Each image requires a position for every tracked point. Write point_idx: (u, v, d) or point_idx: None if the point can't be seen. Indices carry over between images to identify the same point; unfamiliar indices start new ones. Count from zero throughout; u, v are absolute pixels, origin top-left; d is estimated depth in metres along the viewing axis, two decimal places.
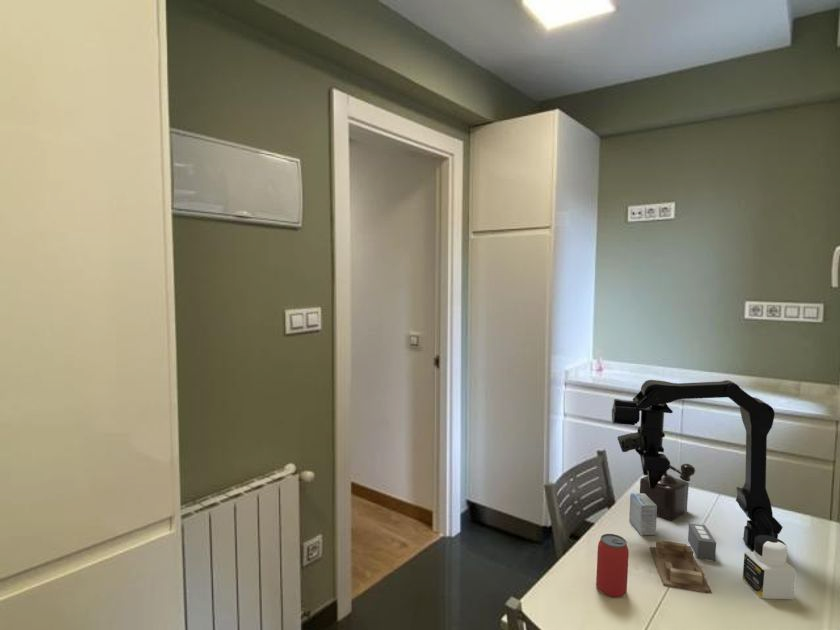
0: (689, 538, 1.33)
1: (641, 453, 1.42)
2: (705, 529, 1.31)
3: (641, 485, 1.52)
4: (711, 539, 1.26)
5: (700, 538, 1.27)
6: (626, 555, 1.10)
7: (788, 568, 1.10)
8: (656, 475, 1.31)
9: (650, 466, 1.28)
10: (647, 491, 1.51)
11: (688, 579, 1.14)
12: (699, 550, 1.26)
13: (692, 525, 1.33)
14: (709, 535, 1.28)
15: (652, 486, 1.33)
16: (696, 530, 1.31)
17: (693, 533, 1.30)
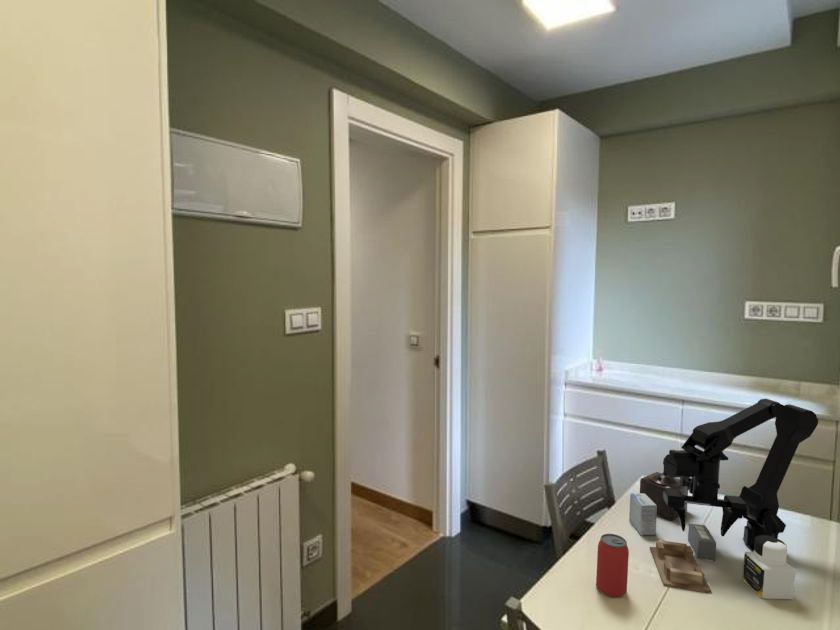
0: (689, 538, 1.34)
1: (723, 511, 1.29)
2: (705, 529, 1.31)
3: (641, 485, 1.52)
4: (711, 539, 1.26)
5: (700, 538, 1.27)
6: (626, 555, 1.10)
7: (788, 568, 1.10)
8: None
9: (663, 497, 1.33)
10: (647, 491, 1.51)
11: (688, 579, 1.14)
12: (699, 550, 1.26)
13: (692, 525, 1.33)
14: (709, 535, 1.28)
15: (682, 528, 1.31)
16: (696, 530, 1.31)
17: (693, 533, 1.30)
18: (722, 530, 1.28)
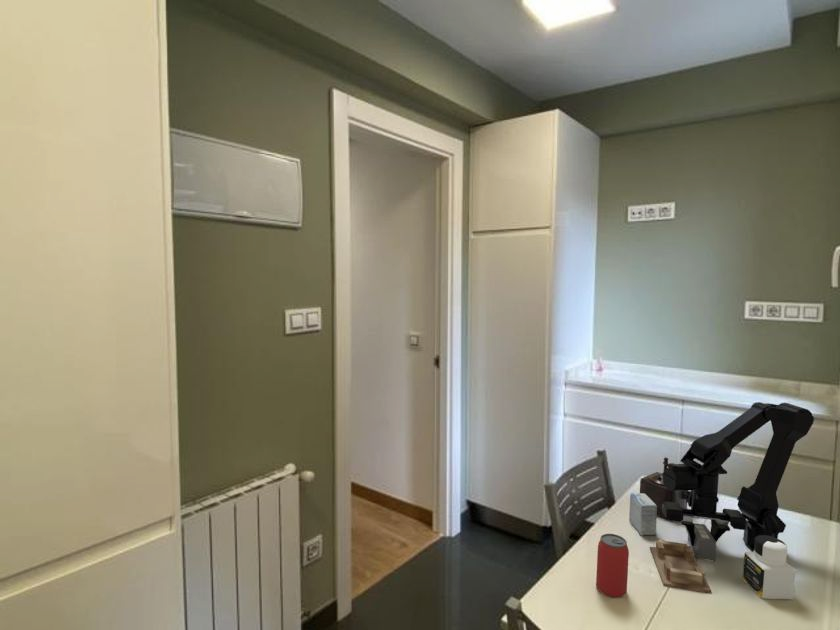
0: None
1: (712, 523, 1.30)
2: (705, 528, 1.31)
3: (641, 485, 1.52)
4: (711, 538, 1.26)
5: (700, 537, 1.27)
6: (626, 555, 1.10)
7: (788, 568, 1.10)
8: None
9: (662, 510, 1.33)
10: (647, 491, 1.51)
11: (688, 579, 1.14)
12: (699, 549, 1.26)
13: None
14: (709, 534, 1.28)
15: (691, 542, 1.30)
16: (696, 529, 1.31)
17: None
18: None
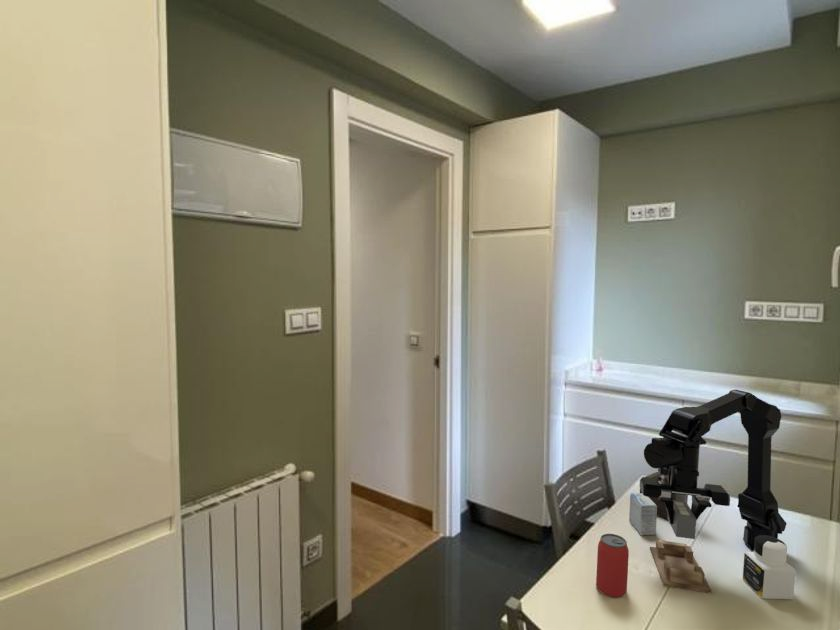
0: None
1: (692, 499, 1.21)
2: (685, 505, 1.22)
3: None
4: (691, 515, 1.17)
5: (679, 514, 1.17)
6: (626, 555, 1.10)
7: (788, 568, 1.10)
8: (667, 507, 1.20)
9: (640, 486, 1.24)
10: None
11: (688, 579, 1.14)
12: (678, 527, 1.17)
13: None
14: (689, 511, 1.19)
15: (670, 520, 1.21)
16: (676, 506, 1.21)
17: None
18: None
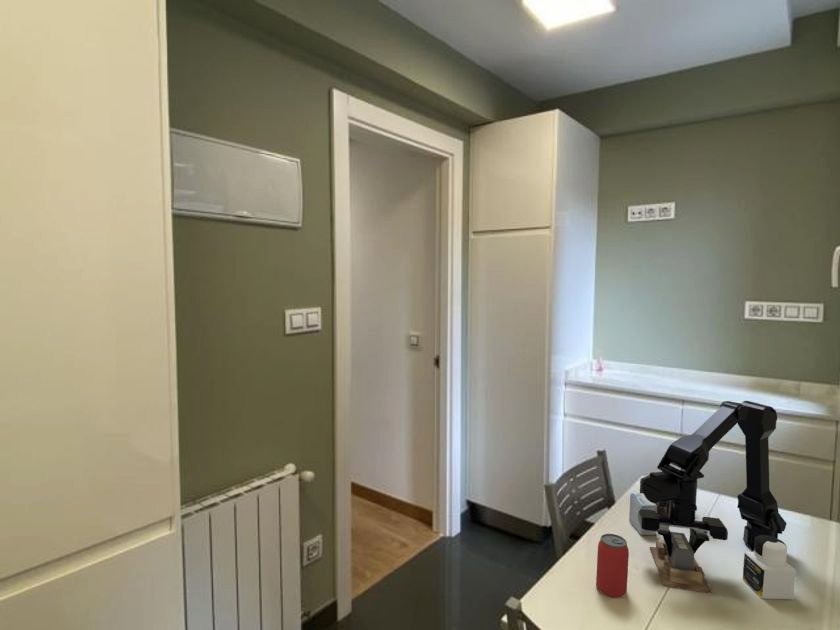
0: None
1: (690, 532, 1.21)
2: (683, 538, 1.23)
3: (641, 485, 1.52)
4: (689, 549, 1.18)
5: (677, 548, 1.18)
6: (626, 555, 1.10)
7: (788, 568, 1.10)
8: None
9: (638, 518, 1.24)
10: None
11: (688, 579, 1.14)
12: (676, 561, 1.17)
13: None
14: (687, 544, 1.20)
15: None
16: (674, 539, 1.22)
17: None
18: None
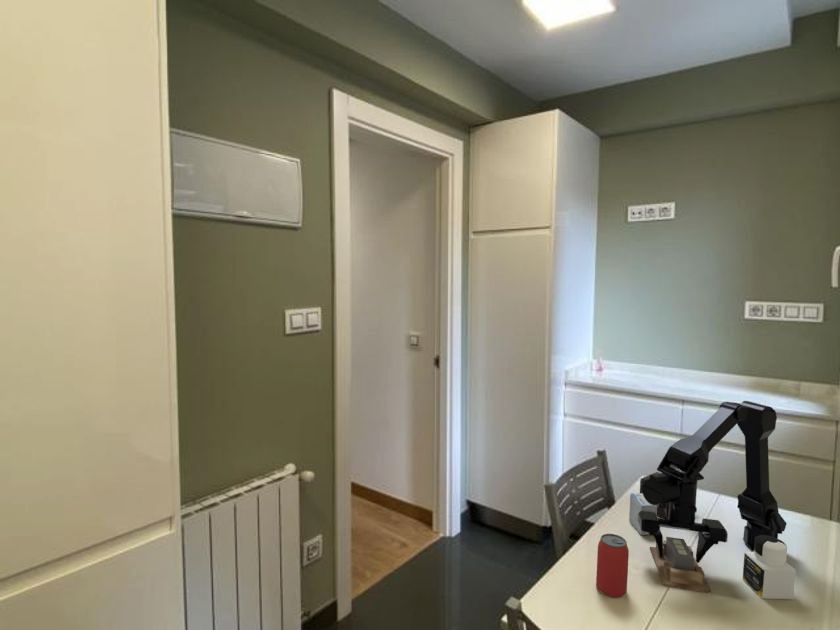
0: (666, 553, 1.25)
1: (699, 535, 1.21)
2: (683, 543, 1.23)
3: (641, 485, 1.52)
4: (688, 555, 1.18)
5: (677, 553, 1.18)
6: (626, 555, 1.10)
7: (788, 568, 1.10)
8: None
9: (638, 520, 1.24)
10: None
11: (688, 579, 1.14)
12: (676, 566, 1.17)
13: (670, 539, 1.25)
14: (687, 550, 1.20)
15: (659, 553, 1.22)
16: (673, 544, 1.22)
17: (670, 548, 1.22)
18: (697, 556, 1.20)
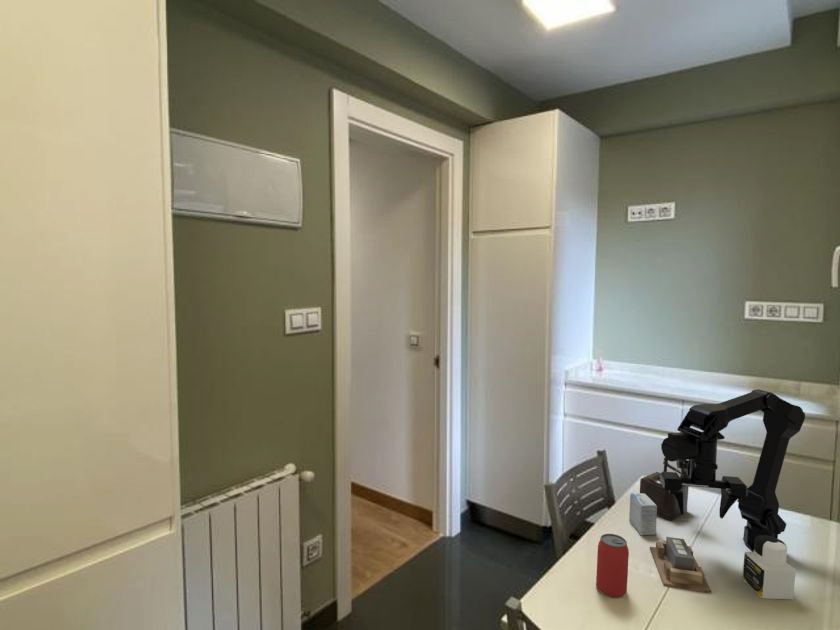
0: (666, 553, 1.25)
1: (722, 492, 1.26)
2: (683, 543, 1.23)
3: (641, 485, 1.52)
4: (688, 555, 1.18)
5: (677, 553, 1.18)
6: (626, 555, 1.10)
7: (788, 568, 1.10)
8: (677, 499, 1.26)
9: (660, 480, 1.29)
10: (647, 491, 1.51)
11: (688, 579, 1.14)
12: (676, 566, 1.17)
13: (670, 539, 1.25)
14: (687, 550, 1.20)
15: (680, 511, 1.27)
16: (673, 544, 1.22)
17: (670, 548, 1.22)
18: (721, 512, 1.24)
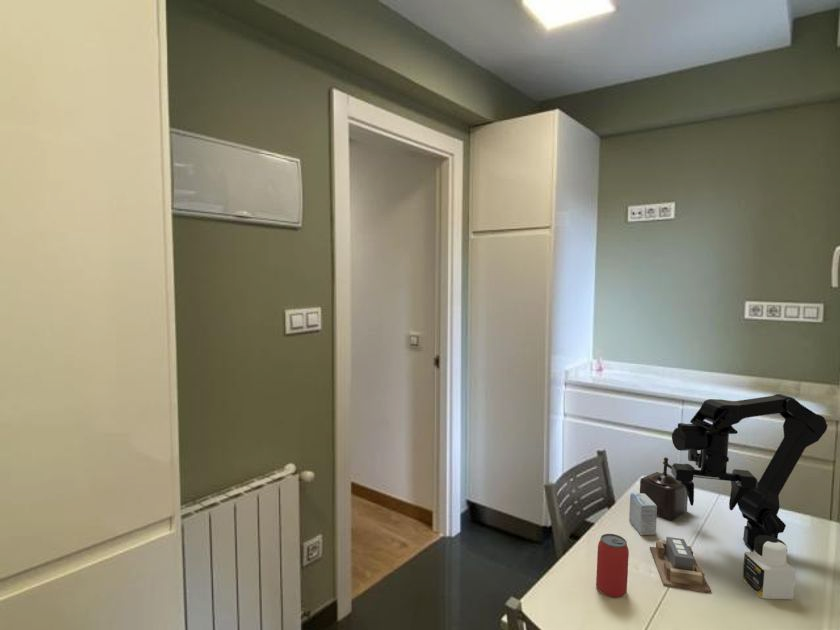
0: (666, 553, 1.25)
1: (732, 485, 1.29)
2: (683, 543, 1.23)
3: (641, 485, 1.52)
4: (688, 555, 1.18)
5: (677, 553, 1.18)
6: (626, 555, 1.10)
7: (788, 568, 1.10)
8: (688, 490, 1.30)
9: (672, 472, 1.33)
10: (647, 491, 1.51)
11: (688, 579, 1.14)
12: (676, 566, 1.17)
13: (670, 539, 1.25)
14: (687, 550, 1.20)
15: (690, 502, 1.31)
16: (673, 544, 1.22)
17: (670, 548, 1.22)
18: (731, 504, 1.28)
